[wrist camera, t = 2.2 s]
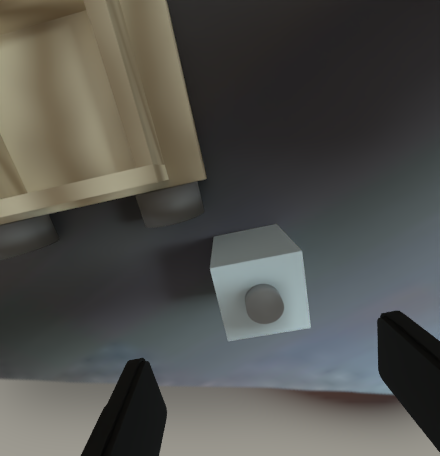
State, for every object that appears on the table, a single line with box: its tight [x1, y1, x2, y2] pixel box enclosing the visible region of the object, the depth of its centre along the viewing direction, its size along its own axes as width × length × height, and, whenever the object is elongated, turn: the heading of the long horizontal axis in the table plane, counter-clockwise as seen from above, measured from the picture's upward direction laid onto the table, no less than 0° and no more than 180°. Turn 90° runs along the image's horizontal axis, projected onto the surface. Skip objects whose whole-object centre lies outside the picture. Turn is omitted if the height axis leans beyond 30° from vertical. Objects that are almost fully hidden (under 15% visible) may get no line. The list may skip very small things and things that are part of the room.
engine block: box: [210, 224, 311, 341], centre depth 14 cm, size 5×5×6 cm
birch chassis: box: [0, 0, 207, 260], centre depth 12 cm, size 16×16×4 cm
